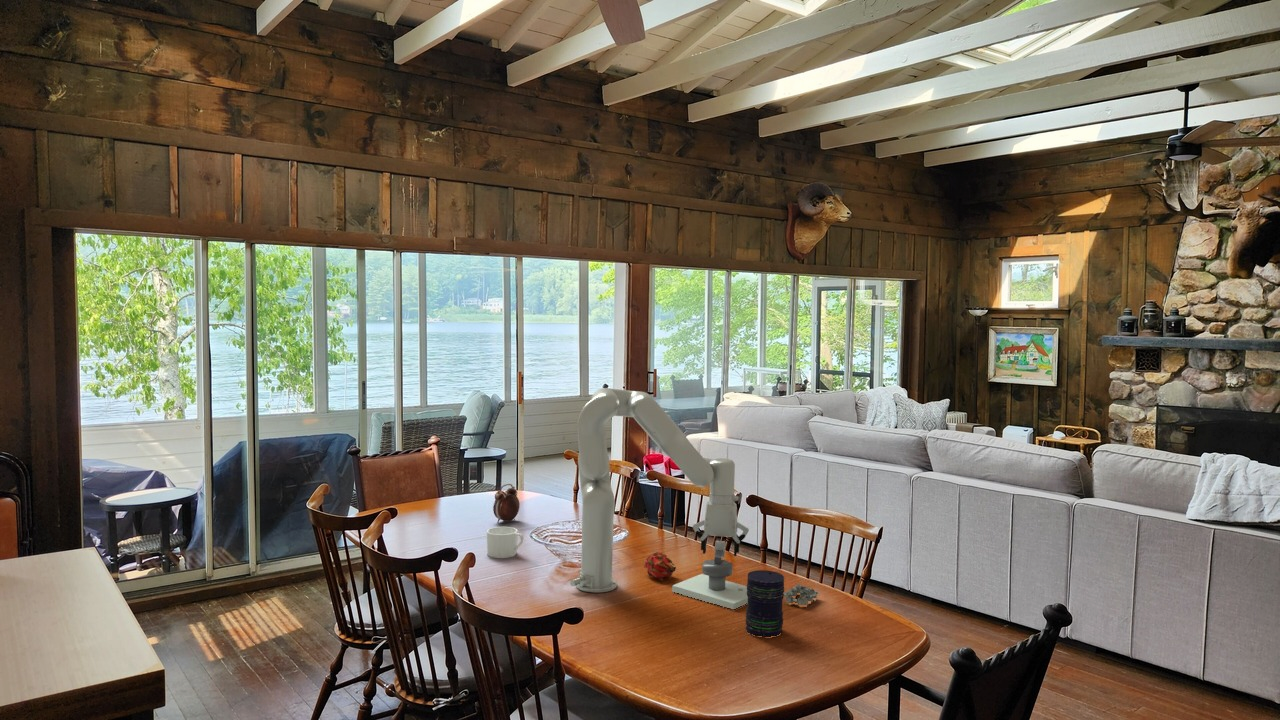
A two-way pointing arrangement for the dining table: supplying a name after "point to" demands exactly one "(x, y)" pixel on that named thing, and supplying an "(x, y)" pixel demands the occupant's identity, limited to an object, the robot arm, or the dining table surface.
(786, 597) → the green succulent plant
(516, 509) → the alarm clock
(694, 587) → the base
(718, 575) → the grey lever knob
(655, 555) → the dragon fruit
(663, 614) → the dining table surface
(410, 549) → the dining table surface
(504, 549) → the mug
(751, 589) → the storage jar
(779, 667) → the dining table surface
